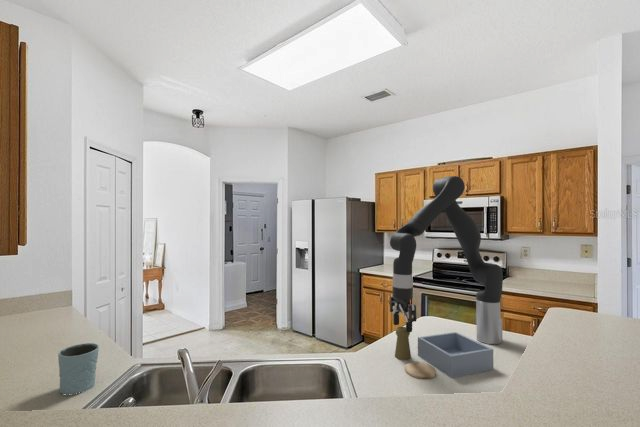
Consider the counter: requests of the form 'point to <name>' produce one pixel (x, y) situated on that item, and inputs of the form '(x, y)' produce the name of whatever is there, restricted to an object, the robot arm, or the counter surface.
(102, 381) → the counter surface
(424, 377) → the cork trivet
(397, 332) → the pepper shaker
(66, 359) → the blue-grey textured cup
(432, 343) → the bin
